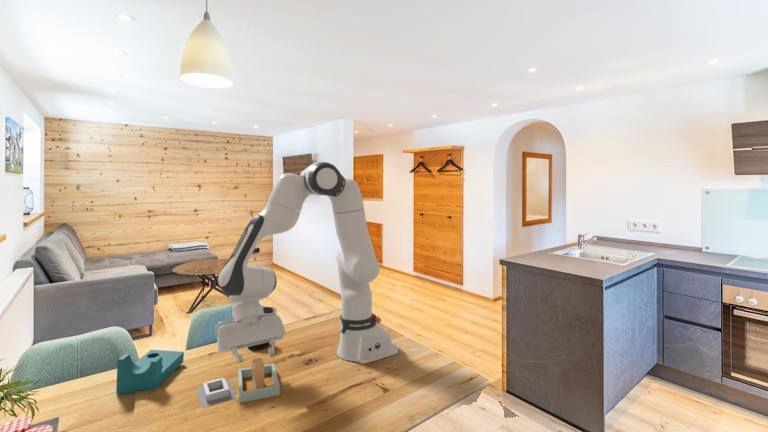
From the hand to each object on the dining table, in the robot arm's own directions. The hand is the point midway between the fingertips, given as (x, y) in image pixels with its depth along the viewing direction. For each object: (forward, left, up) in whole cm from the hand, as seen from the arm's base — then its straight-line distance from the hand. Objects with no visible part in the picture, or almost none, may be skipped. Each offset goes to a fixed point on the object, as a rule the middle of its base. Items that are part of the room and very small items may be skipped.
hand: (256, 358), depth 116 cm
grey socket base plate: (+12, +2, -9) cm, 15 cm away
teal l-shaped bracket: (+31, -16, -9) cm, 36 cm away
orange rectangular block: (0, +2, -8) cm, 8 cm away
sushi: (-2, -29, -9) cm, 31 cm away
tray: (0, +2, -9) cm, 9 cm away
